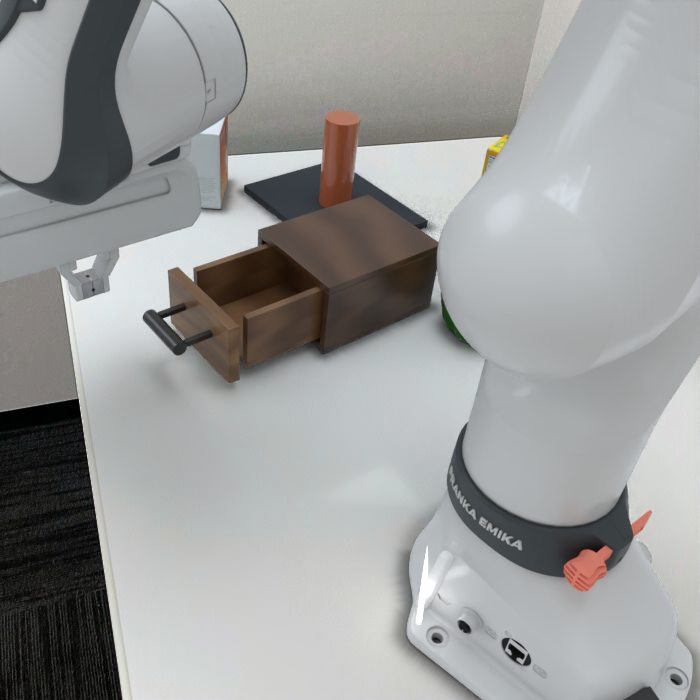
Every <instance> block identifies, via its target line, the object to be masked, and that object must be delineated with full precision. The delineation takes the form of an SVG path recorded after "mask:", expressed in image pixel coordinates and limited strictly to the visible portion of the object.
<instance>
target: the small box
mask: <svg viewBox="0 0 700 700" xmlns="http://www.w3.org/2000/svg"><path fill="white" fill-rule="evenodd" d="M228 119H229V115H227V116H226V117H224V118H223V119H222V120H220V121H219V122H218V123H216V124H214V125H213V126H211V127H210V128H208V129H206V130H205V131H203V132H201V133H200V134H198V135H196V136H194V137H193V138H191V152H190V154H189V156H188V158H190V159H191V160H192V161H193V163H194V164H195V166H196V169H197V173H198V178H199V185H200V195H201V209H202V208H203V209H204V208H205V209H215V210H221V209H222V207H223V201H224V198H225V194H226V190H227V187H228V183H229V120H228Z"/></svg>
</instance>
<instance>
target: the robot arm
mask: <svg viewBox="0 0 700 700" xmlns="http://www.w3.org/2000/svg"><path fill="white" fill-rule="evenodd" d="M560 39H561V40H560V42H559V43H558V45H557V47H556V49H555V51H554V52H553V54H552V57H551V58H550V60H549V61H548V64H547V66H546V67H545V69H544V71H543V73H542V75H541V77H540V79H539V80H538V83H537V84H536V87H535V89H534V90H533V92H532V93H531V95H530V97H529V99H528V101H527V102H526V105H525V107H524V109H523V111H522V112H521V113H520V116H519V118H518V120H517V122H516V123H515V125H514V127H513V129H512V130H511V133H510V134H509V137H508V139H507V141H506V143H505V144H504V146H503V148H502V149H501V150H500V152H499V153H498V155H497V156H496V158H495V159H494V161H493V162H492V164H491V165H490V166H489V168H488V169H487V170H486V171H485V173H484V174H483V175H482V174H481V175H482V177H481V176H480V178H479V179H478V180H477V181H476V182H475V184H474V185H473V186H472V187H471V188H470V189H469V191H468V192H467V194H465V195H464V197H463V198H462V199H461V200H460V201H459V202H458V203H457V205H456V206H455V207H454V208H453V210H452V211H451V212H450V213H449V215H448V217H447V218H446V220H445V222H444V224H443V226H442V229H441V232H440V234H439V235H440V236H439V239H438V242H439V243H438V249H437V272H436V275H437V281H438V285H439V286H438V287H439V290H440V295H441V294H442V298H443V301H444V303H445V306H446V309H447V311H448V313H449V315H450V317H451V319H452V321H453V323H454V324H455V326H456V328H457V329H458V331H459V332H460V333H461V335H462V336H463V337H464V339H465V340H466V341H467V342H468V343H467V342H466V343H467V344H469V346H470V347H471V348H472V349H474V350H475V352H477V353H478V354H479V355H480V356H481V357H482V358H484V363H483V366H482V369H481V374H480V377H479V381H478V384H477V387H476V392H475V396H474V399H473V403H472V408H471V410H470V414H469V418H468V421H467V422H465V424H464V425H463V427H462V428H461V430H460V432H459V434H458V436H457V438H456V439H457V440H456V442H455V446H454V448H453V452H452V455H451V458H450V462H449V465H448V469H447V474H446V490H445V493H444V495H443V498H442V500H441V501H440V503H439V506H438V508H437V509H436V511H435V513H434V515H433V517H432V518H431V519H430V521H429V522H428V523H427V524H426V525H425V527H423V528H422V530H421V531H420V533H419V534H418V535H417V537H416V539H415V541H414V543H413V544H412V548H411V550H410V555H409V561H408V577H409V583H410V584H409V585H410V590H411V595H412V605H411V608H410V611H409V615H408V618H407V623H406V637H407V639H408V641H409V642H410V643H411V644H412V645H413V646H414V647H415V648H416V649H417V650H419V651H420V652H421V653H422V654H424V655H425V656H426V657H428V658H429V659H430V660H431V661H432V662H434V663H435V664H436V665H438V666H439V667H440V668H441V669H443V670H444V671H445V672H446V673H448V674H449V675H450V676H452V677H453V678H454V679H455V680H457V682H458V683H460V684H461V685H463V687H465V688H466V689H467V690H469V691H470V692H472V693H473V694H474V695H475V696H476V697H478V698H479V699H480V700H686V698H687V696H688V694H689V692H690V688H691V685H692V680H693V672H694V662H693V655H692V653H691V652H690V650H689V649H688V647H687V646H686V645H685V644H684V643H683V641H682V640H681V639H680V638H679V637H678V634H677V632H678V628H679V627H678V625H679V622H678V621H679V619H678V610H677V607H676V604H675V602H674V599H672V597H671V595H670V594H669V592H668V590H667V589H666V588H665V586H664V584H663V583H662V582H661V579H660V578H659V576H658V574H657V573H656V572H655V569H654V568H653V566H652V563H653V557H652V554H651V551H650V550H649V548H648V547H647V546H646V544H644V543H643V542H642V541H639V540H637V539H636V538H635V537H636V536H637V535H638V534H639V533H641V532H642V531H643V530H644V528H645V526H646V525H647V523H648V521H649V519H650V518H651V516H652V513H653V511H652V510H647V511H646V512H645V513H644V514H643V515H641V516H639V518H638V519H636V520H635V521H634V522H633V523H631V520H630V504H629V490H628V482H629V479H630V478H631V476H632V474H633V472H634V469H635V468H636V466H637V463H638V462H639V460H640V458H641V456H642V454H643V452H644V450H645V447H646V446H647V444H648V441H649V440H650V438H651V435H652V434H653V432H654V430H655V428H656V426H657V424H658V423H659V421H660V419H661V416H662V415H663V413H664V412H665V410H666V408H667V407H668V405H669V404H670V402H671V401H672V399H673V397H674V396H675V394H676V393H677V391H678V390H679V388H680V387H681V386H682V384H683V382H684V381H685V379H686V377H687V376H688V375H689V374H690V371H691V370H692V369H693V367H694V365H696V363H697V361H698V359H699V358H700V0H581V1H580V3H579V5H578V6H577V9H576V11H575V13H574V14H573V17H572V19H571V20H570V22H569V24H568V26H567V28H566V30H565V32H564V34H563V36H562V38H560ZM248 66H249V65H248V55H247V49H246V44H245V40H244V37H243V35H242V32H241V30H240V27H239V25H238V23H237V21H236V19H235V17H234V16H233V14H232V12H231V11H230V10H229V8H228V7H227V6H226V4H225V3H224V2H223V1H222V0H0V284H3V283H7V282H11V281H14V280H16V279H19V278H20V279H21V278H24V277H26V276H29V275H33V274H36V273H40V272H43V271H46V270H51V269H53V268H55V270H56V271H57V272H58V274H60V275H61V276H62V277H63V278H64V279H65V280H66V281H67V287H68V291H69V294H70V295H71V297H72V298H73V299H74V300H75V301H76V303H77V302H80V301H85V300H87V299H90V298H93V297H96V296H98V295H99V296H100V295H102V294H105V293H109V292H110V291H111V285H110V276H111V275H112V272H113V270H114V268H115V267H116V265H117V263H118V261H119V259H120V249H121V248H124V247H127V246H130V245H134V244H137V243H140V242H144V241H147V240H150V239H153V238H157V237H160V236H164V235H167V234H170V233H171V234H172V233H175V232H178V231H181V230H185V229H188V228H191V227H193V226H194V225H195V224H196V222H197V220H198V219H199V218H200V216H201V213H202V208H201V195H200V185H199V178H198V173H197V169H196V166H195V164H194V163H193V161H192V160H191V159H190V158H188V156H189V154H190V152H191V138H193V137H194V136H196V135H198V134H200V133H201V132H203V131H205V130H206V129H208V128H210V127H211V126H213V125H214V124H216V123H218V122H219V121H220V120H222V119H223V118H224V117H226V116H227V115H228V116H230V114H232V113H233V112H234V111H235V110H236V109H237V108H238V106H240V104H241V102H242V99H243V98H244V95H245V91H246V87H247V83H248V82H247V81H248V73H249V72H248V71H249V70H248V69H249V67H248ZM93 256H95V258H94V261H93V264H92V266H91V268H88V269H84V270H82V271H78V272H73V271H77V269H78V263H77V261H80V260H84V259H88V258H90V257H93ZM433 639H438V640H439V641H440V643H437V642H434V640H433ZM671 679H672V680H674V681H676V683H677V684H676V683H674V682H673V681H672V680H671Z"/></svg>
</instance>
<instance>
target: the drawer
mask: <svg viewBox="0 0 700 700" xmlns="http://www.w3.org/2000/svg"><path fill="white" fill-rule="evenodd" d="M192 271H193V280H192V279H191V278H190V277H189V276H188V275H187V274H186V272H184V271H183V270H182V269H181V268H180V267H178V266H176V267H173V268H170V269H167V281H168V296H169V307H167V308H165V309H162V310H159V311H156V310H155V309H153V308H152V309H148V310H146V311H145V312H143V314H142V321H143V322H144V323H145V325H146V326H148V328H149V329H150V330H151V331H152V332H153V333H154V334H155V335H156V337H158V339H159V340H160V341H161V342H162V343H163V344H164V345H165V346H166V348H167V349H169V350H170V352H171V353H172V354H173V355H174V356H182V355H183V354H184V353H185V352H186V351H187V349H188V348H189V347H193V348H194V349H195V350H196V351H197V352H198V353H199V354H200V355H201V356H202V357H203V358H204V359H205V360H206V362H207V363H208V364H209V365H210V366H211V367H212V368H213V369H214V370H215V371H216V372H217V373H218V374H219V375H220V376H221V377H222V378H223V379H224V380H225V381H226V382H227V384H228V385H231V384H233V383H235V382H238V381H239V380H240V364H241V365H242V366H244V368H245V369H250V368H252V367H254V366H257V365H260V364H262V363H264V362H266V361H269V360H272V359H273V358H276V357H278V356H280V355H283V354H285V353H287V352H289V351H292V350H294V349H297V348H299V347H301V346H304V345H305V344H308V343H310V342H311V341H313V340H315V339H318V338H320V334H321V323H322V312H323V301H324V290H323V289H322V288H321V287H320V286H318V285H317V284H316V283H315V282H314V281H312V280H311V279H310V278H309V277H307V276H306V275H305V274H304V273H303V272H301V271H300V270H299V269H298V268H297V267H295V266H294V265H293V264H292V263H290V262H289V261H288V260H287V259H286V258H284V257H283V256H282V255H281V254H280V253H278V252H277V251H276V250H275V249H273V248H272V247H271V246H270V245H269V244H267V243H266V244H263V245H260V246H258V245H257V246H255V247H252V248H248V249H245V250H242V251H239V252H236V253H234V254H231V255H227V256H225V257H222V258H218V259H215V260H212V261H210V262H207V263H204V264H200V265H197V266H194V267H193V268H192ZM169 317H170V323H171V325H173V327H174V328H175V329H176V330H177V331H178V332H179V333H180V334H181V335H182V336H183V337H184V339H183V338H182V337H181V336H180V335H179V334H178V333H177V332H176V330H174V329H173V328H172V326H171V325H170V324H168V322H167V321H166V320H165V319H166V318H169Z"/></svg>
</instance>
